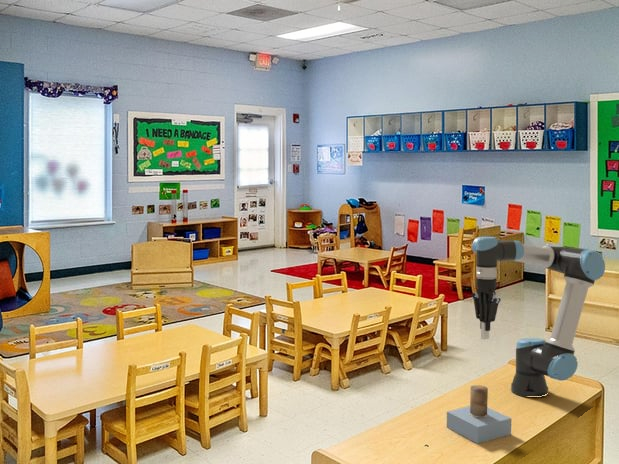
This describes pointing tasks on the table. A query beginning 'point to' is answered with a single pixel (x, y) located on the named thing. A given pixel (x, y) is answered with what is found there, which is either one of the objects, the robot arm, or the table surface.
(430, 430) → the table surface
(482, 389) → the peg
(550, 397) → the table surface
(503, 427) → the seat block
